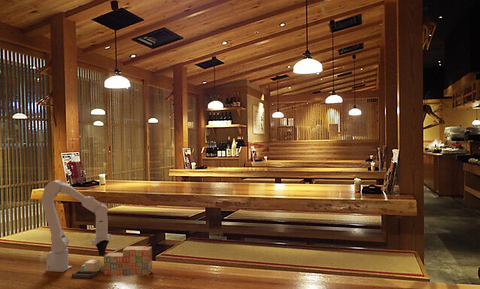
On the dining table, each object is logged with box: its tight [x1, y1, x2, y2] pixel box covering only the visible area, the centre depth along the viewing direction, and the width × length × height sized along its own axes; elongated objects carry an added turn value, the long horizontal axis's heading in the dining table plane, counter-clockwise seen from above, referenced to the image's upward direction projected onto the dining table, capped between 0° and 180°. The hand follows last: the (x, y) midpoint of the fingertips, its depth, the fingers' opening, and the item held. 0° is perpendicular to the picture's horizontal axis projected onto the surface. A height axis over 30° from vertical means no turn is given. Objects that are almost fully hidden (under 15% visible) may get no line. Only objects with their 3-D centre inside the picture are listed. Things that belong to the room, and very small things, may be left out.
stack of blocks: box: [103, 245, 153, 277], centre depth 181 cm, size 21×6×12 cm, turn 87°
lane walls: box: [80, 263, 104, 273], centre depth 189 cm, size 12×10×2 cm
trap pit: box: [71, 270, 98, 279], centre depth 178 cm, size 10×5×2 cm, turn 80°
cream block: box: [84, 259, 101, 273], centre depth 184 cm, size 5×5×5 cm
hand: (101, 255), depth 193 cm, fingers closed
